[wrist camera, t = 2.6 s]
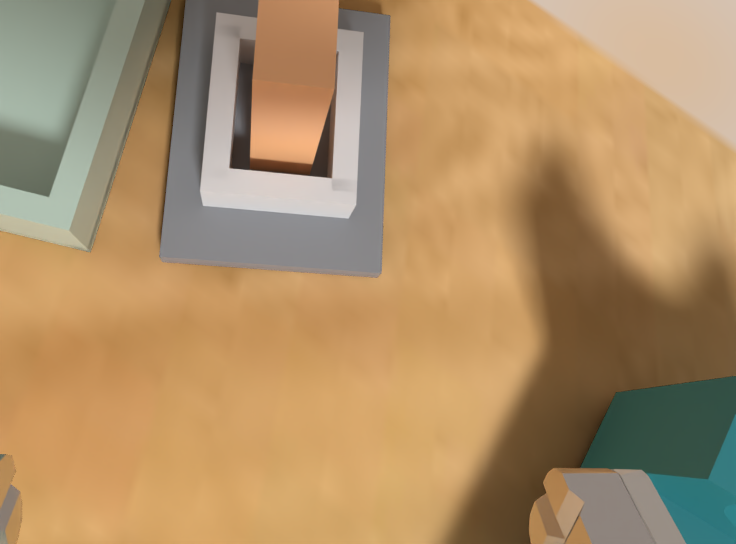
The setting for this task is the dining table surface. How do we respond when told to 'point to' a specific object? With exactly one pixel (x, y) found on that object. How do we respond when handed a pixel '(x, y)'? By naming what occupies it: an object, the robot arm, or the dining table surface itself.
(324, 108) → the orange rectangular block
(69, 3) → the tray
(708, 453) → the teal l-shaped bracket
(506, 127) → the dining table surface
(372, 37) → the grey socket base plate
